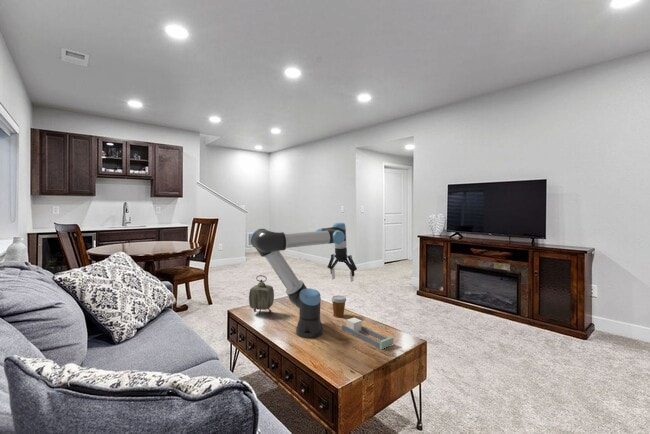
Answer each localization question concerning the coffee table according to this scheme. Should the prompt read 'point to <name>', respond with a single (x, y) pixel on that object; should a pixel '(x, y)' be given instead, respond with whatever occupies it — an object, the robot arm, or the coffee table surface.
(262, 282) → the tabletop clock
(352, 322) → the block
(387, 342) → the chute
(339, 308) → the disposable coffee cup
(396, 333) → the coffee table surface
